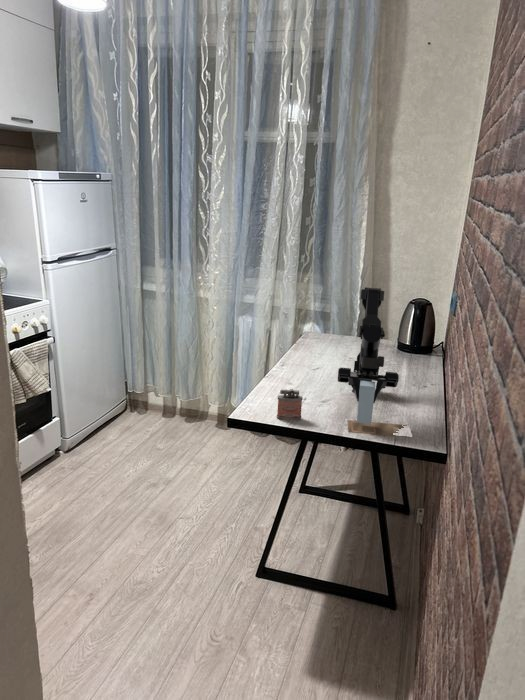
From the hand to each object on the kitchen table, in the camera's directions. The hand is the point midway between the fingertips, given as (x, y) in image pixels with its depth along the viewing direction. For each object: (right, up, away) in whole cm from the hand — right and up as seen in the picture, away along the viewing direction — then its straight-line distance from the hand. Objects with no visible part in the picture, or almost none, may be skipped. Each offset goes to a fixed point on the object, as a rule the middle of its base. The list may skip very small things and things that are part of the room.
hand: (365, 402), depth 168 cm
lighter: (-24, -6, +9) cm, 26 cm away
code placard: (+5, -9, +4) cm, 11 cm away
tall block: (0, -6, +3) cm, 7 cm away
